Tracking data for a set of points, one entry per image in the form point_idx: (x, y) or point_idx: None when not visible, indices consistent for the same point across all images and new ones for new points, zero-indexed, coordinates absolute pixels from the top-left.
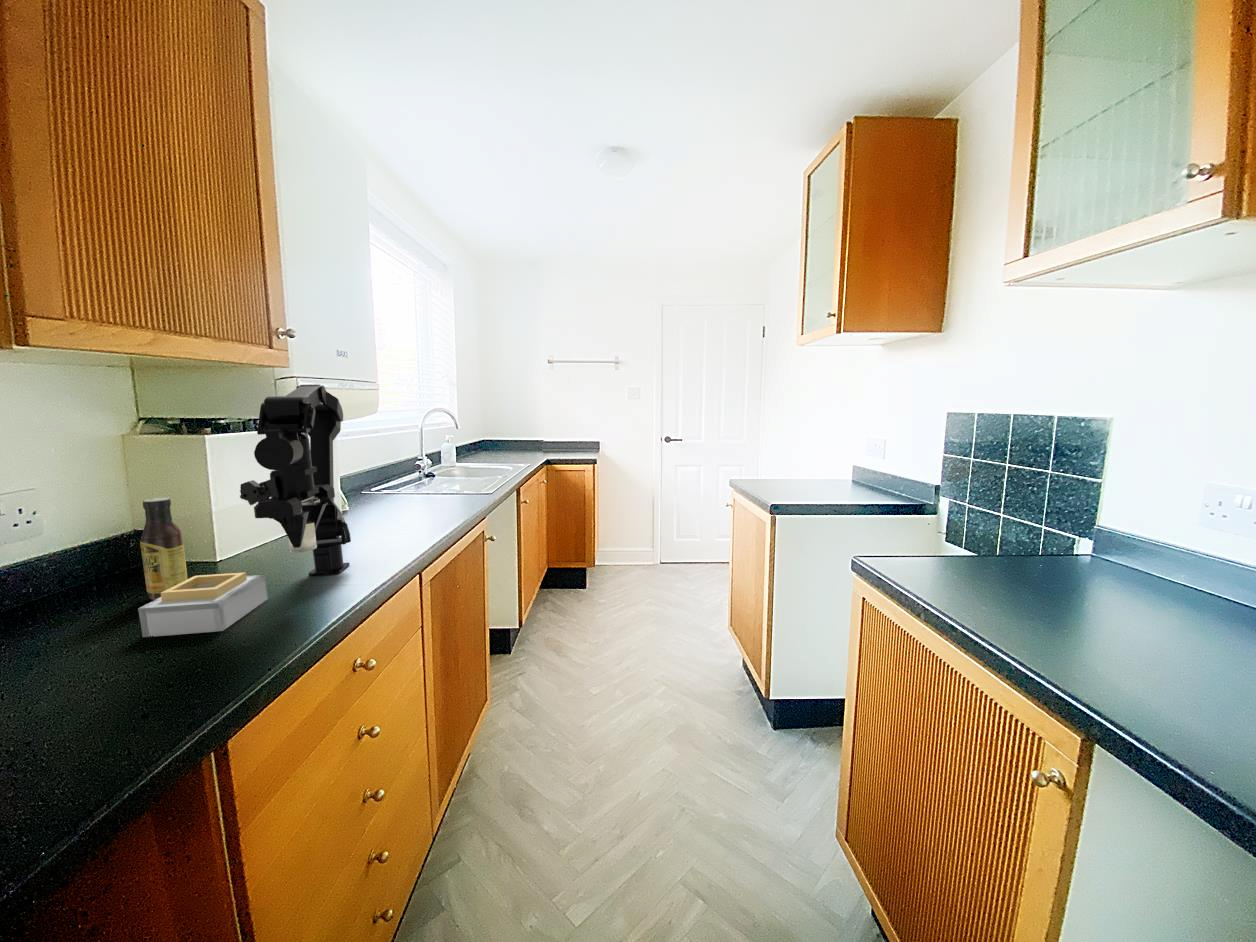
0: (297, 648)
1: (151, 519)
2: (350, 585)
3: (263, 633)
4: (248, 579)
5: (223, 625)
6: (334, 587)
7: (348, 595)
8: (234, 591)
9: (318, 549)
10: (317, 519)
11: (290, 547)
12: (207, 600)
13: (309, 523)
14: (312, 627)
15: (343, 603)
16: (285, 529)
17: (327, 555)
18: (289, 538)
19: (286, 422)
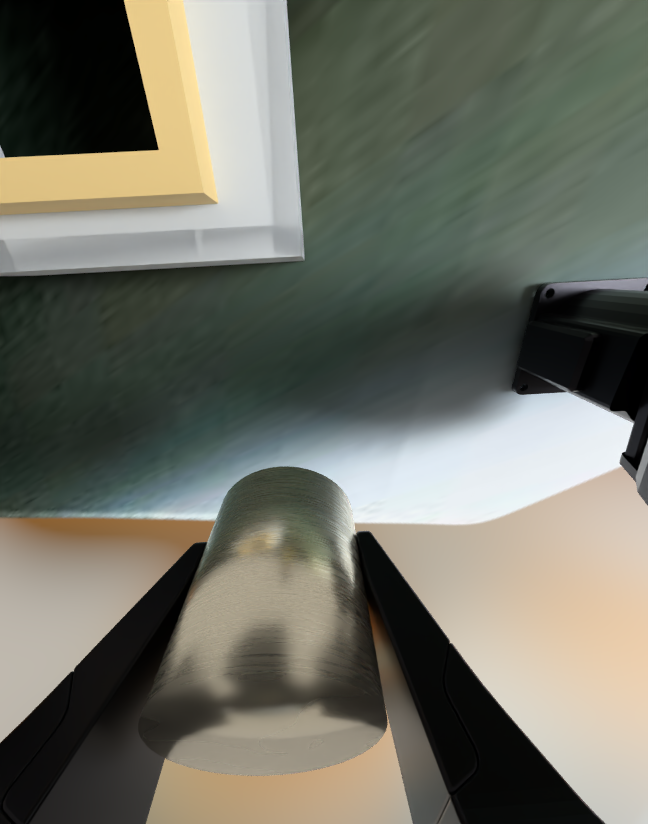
0: (16, 511)
1: None
2: (384, 463)
3: (56, 407)
4: (227, 208)
5: (26, 275)
6: (378, 429)
7: None
8: (53, 254)
9: (619, 362)
10: (401, 771)
11: (225, 507)
12: None
13: (273, 764)
14: (113, 494)
15: None
16: (38, 718)
17: (569, 391)
18: (135, 607)
19: None
